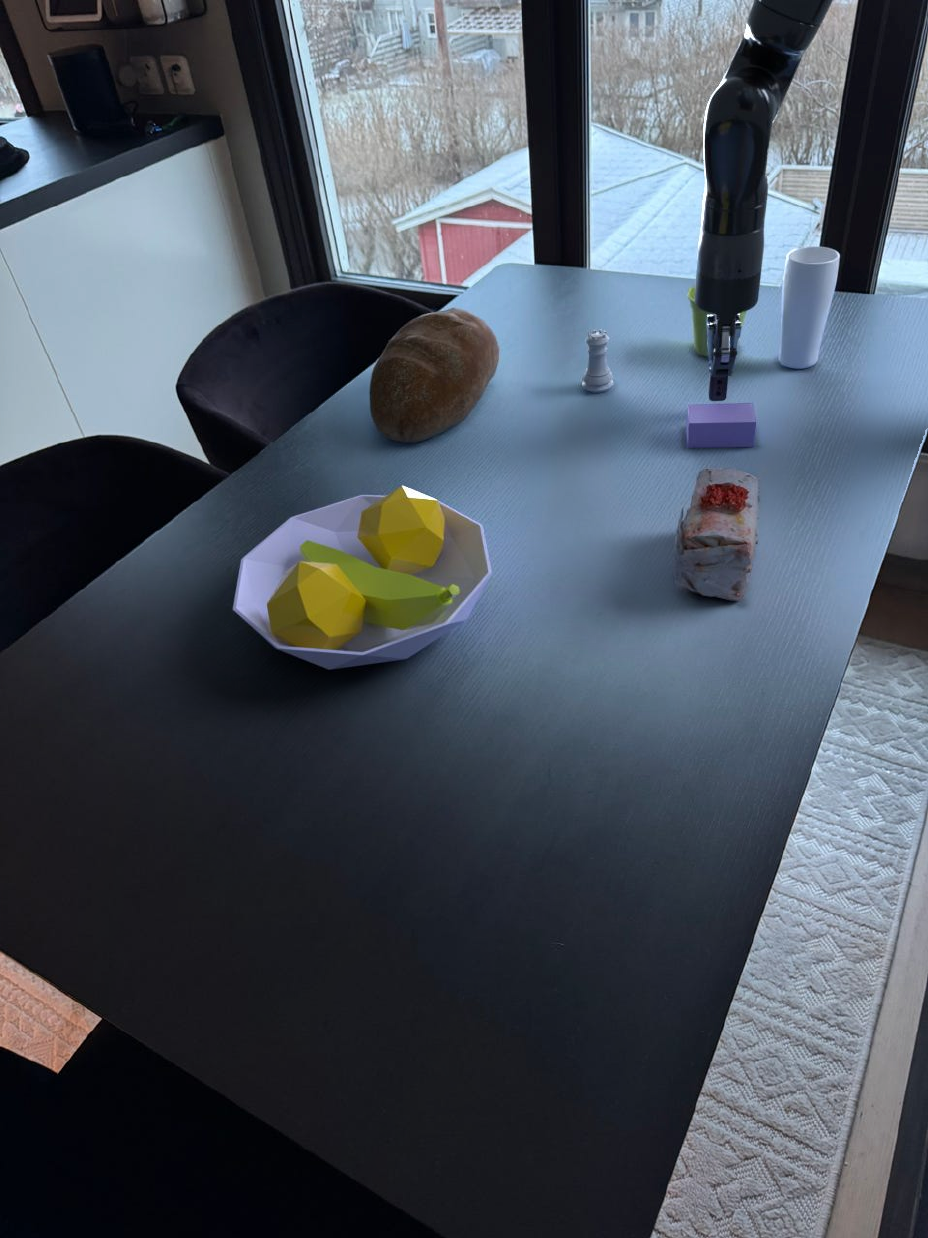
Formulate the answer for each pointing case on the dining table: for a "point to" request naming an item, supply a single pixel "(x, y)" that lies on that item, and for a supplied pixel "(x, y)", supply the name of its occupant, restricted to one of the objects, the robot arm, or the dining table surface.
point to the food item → (718, 535)
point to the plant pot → (702, 324)
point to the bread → (432, 374)
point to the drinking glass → (806, 303)
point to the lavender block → (720, 425)
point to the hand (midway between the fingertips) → (717, 398)
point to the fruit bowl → (364, 579)
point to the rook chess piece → (597, 364)
